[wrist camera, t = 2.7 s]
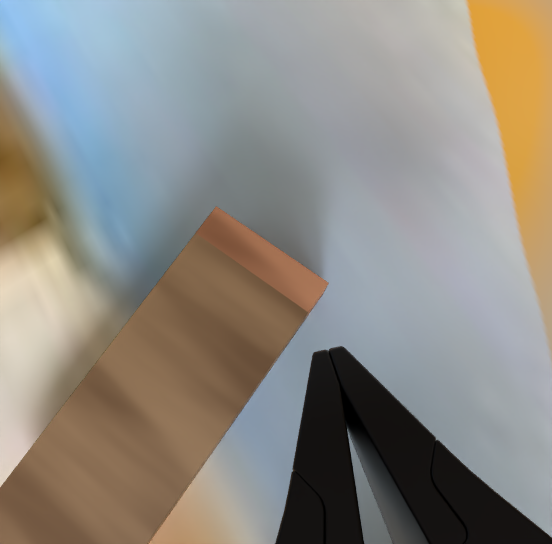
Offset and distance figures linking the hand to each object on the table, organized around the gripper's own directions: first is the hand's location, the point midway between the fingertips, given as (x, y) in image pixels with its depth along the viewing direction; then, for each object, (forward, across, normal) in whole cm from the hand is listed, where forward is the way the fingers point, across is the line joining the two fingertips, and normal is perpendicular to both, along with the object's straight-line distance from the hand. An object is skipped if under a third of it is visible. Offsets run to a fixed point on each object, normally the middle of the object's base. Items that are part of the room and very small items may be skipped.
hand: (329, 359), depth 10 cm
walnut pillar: (+8, +1, +1) cm, 8 cm away
